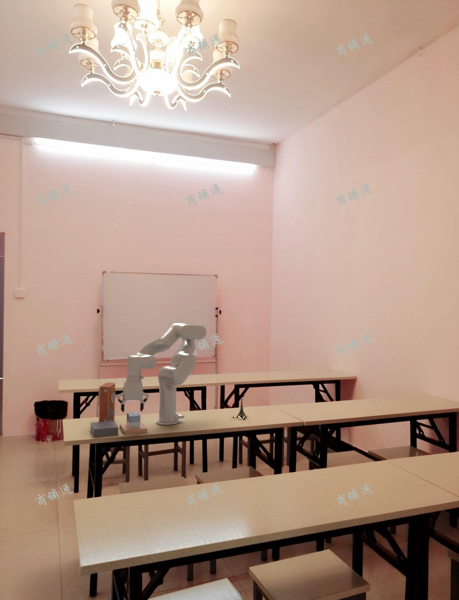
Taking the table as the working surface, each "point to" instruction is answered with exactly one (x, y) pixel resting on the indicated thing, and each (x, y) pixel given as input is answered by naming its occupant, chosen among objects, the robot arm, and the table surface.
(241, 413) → the eiffel tower figurine
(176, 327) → the robot arm
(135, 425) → the housing
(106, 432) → the charcoal stand
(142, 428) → the terracotta stand
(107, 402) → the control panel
